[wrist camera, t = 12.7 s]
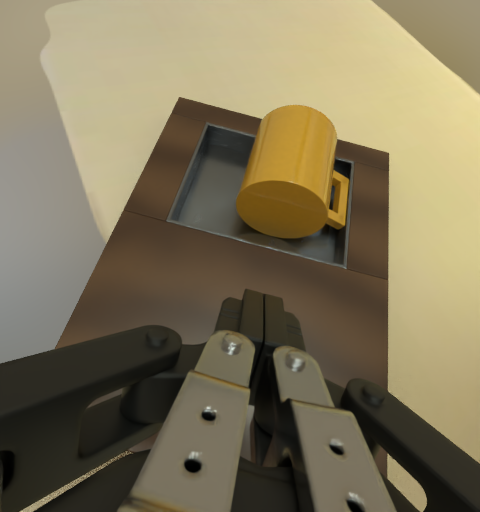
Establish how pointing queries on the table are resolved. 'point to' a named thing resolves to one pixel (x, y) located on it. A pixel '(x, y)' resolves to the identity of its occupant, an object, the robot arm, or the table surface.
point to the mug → (292, 175)
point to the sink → (225, 194)
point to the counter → (241, 267)
